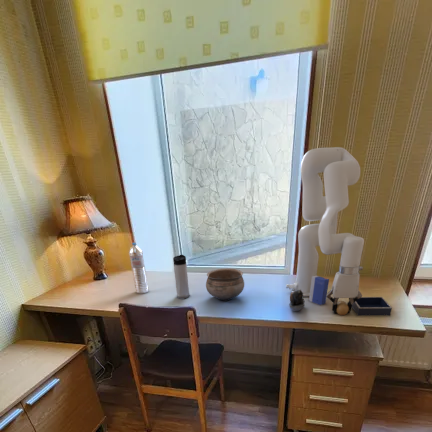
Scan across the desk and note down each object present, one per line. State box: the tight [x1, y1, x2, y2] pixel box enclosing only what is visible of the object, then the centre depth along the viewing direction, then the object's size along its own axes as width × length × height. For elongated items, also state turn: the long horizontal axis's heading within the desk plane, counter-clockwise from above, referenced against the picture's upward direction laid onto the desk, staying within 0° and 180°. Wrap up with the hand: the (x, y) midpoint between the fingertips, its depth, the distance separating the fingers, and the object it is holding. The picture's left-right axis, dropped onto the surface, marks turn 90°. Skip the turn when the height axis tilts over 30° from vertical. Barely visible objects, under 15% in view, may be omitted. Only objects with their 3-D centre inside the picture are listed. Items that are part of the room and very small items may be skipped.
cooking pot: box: [205, 268, 245, 301], centre depth 163 cm, size 25×19×12 cm
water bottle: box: [128, 242, 149, 295], centre depth 172 cm, size 7×7×25 cm
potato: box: [336, 300, 349, 316], centre depth 143 cm, size 5×8×5 cm, turn 175°
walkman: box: [308, 275, 330, 306], centre depth 153 cm, size 8×3×12 cm, turn 32°
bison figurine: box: [289, 289, 306, 312], centre depth 148 cm, size 12×7×10 cm, turn 170°
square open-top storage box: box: [351, 296, 393, 317], centre depth 145 cm, size 13×13×4 cm
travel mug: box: [172, 254, 190, 300], centre depth 165 cm, size 6×7×20 cm
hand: (341, 311), depth 144 cm, fingers closed on potato, 5 cm apart
